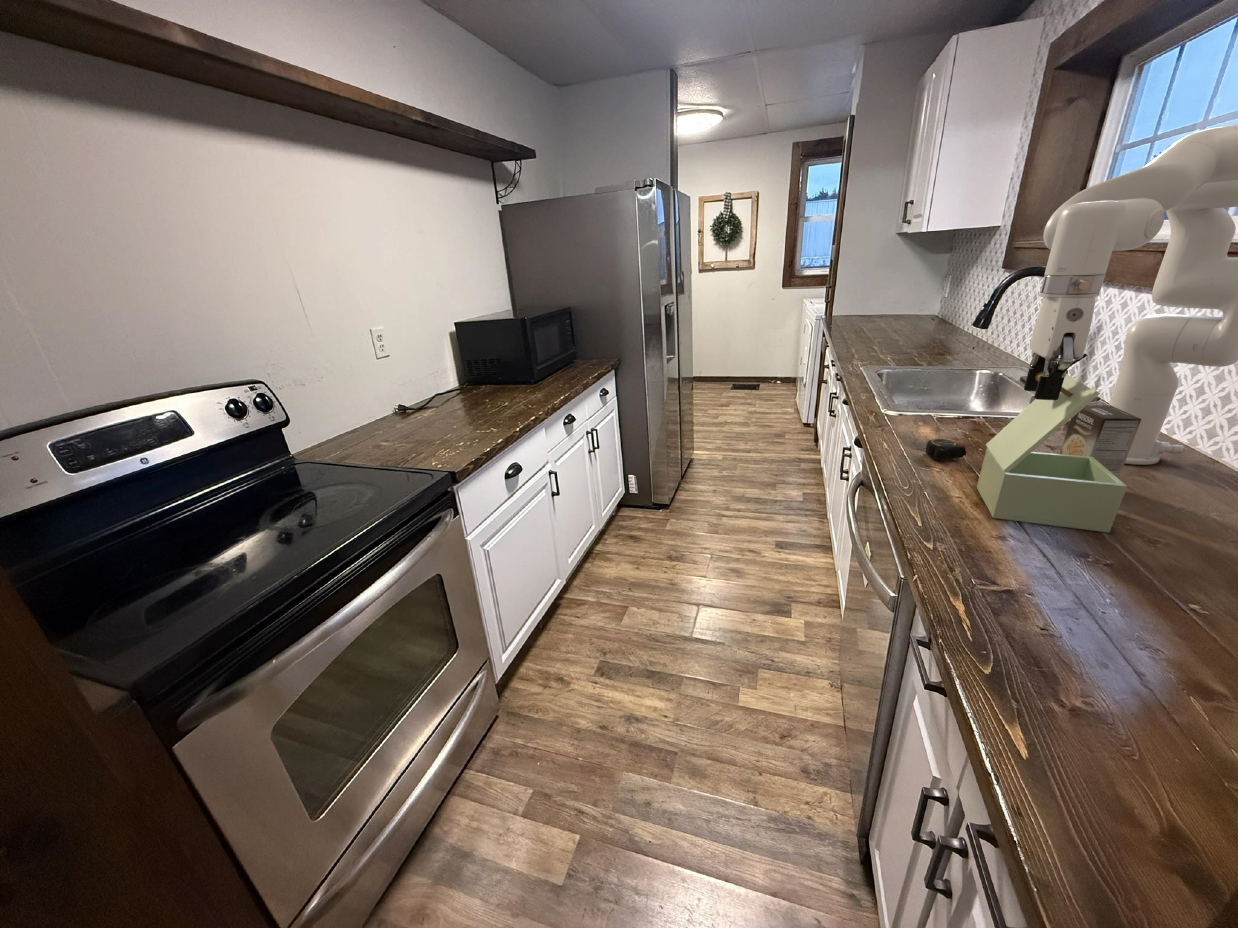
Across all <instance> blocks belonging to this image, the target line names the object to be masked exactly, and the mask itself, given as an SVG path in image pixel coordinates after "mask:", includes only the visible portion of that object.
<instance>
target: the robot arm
mask: <svg viewBox="0 0 1238 928" xmlns="http://www.w3.org/2000/svg"><path fill="white" fill-rule="evenodd" d="M1227 208H1238V123H1236V124H1230V125H1225V126H1217V127H1211V128H1206V129H1201V130H1199V131H1194V132H1192V133H1189V134H1187V135H1185V136H1183V137H1182V138H1180V139H1178V140H1177V141H1175V142H1174V143H1173V144H1171V145H1170V146H1169V147H1167V148H1166V149H1165V150H1164V151H1163V152H1161V153H1160V154H1159V155H1158V156H1156V157H1155V158H1154V159H1152V160H1151V161H1149V162H1148V163H1147V164H1145V165H1144V166H1141V167H1139V168H1136V169H1133V170H1130V171H1128V172H1125V173H1122V174H1120V175H1117V176H1115V177H1112V178H1109V179H1107V180H1104V181H1102V182H1098V183H1096V184H1094V185H1091V186H1088V187H1087V188H1085V189H1083V190H1080V191H1079V192H1077V193H1076V194H1074V195H1073V196H1071V197H1070V198H1069V199H1067V200H1066V201H1065V202H1064V203H1063V204H1061V205H1060V206H1059V207H1058V208H1057V209H1056V210H1055V211H1054V212H1053V213H1052V214H1051V216H1050V218H1049V219H1048V221H1047V223H1046V225H1045V227H1044V230H1043V243H1044V245H1045V246H1046V248H1047V249H1048V250H1050V251H1049V256H1048V260H1047V263H1046V267H1045V271H1044V275H1043V278H1042V282H1041V286H1040V290H1039V293H1038V297H1042V298H1043V299H1042V303H1041V305H1040V307H1039V310H1038V314H1037V317H1036V319H1035V324H1034V326H1033V330H1032V335H1031V338H1030V342H1029V348H1030V350H1031V351H1032V352H1033V353H1032V355H1031V357H1032V358H1031V360H1030V363H1029V368H1028V372H1027V374H1026V378H1025V383H1024V386H1023V390H1024V391H1025V392H1035V393H1034V396H1033V398H1034V400H1035V399H1037V400H1057V399H1058V398H1059V394H1060V391H1061V388H1062V384H1063V381H1064V378H1065V376H1066V374H1068V373H1067V372H1068V370H1069V368H1070V366H1072V364H1073V362H1074V361H1078V360H1080V359H1082V358H1083V357H1084V354H1085V350H1086V347H1087V343H1088V340H1089V335H1090V331H1091V326H1092V322H1093V319H1094V312H1095V307H1096V306H1095V305H1096V298H1097V297H1100V293H1101V290H1102V288H1103V283H1104V281H1105V277H1106V273H1107V270H1108V267H1109V264H1110V261H1111V258H1112V253H1113V252H1121V251H1122V252H1123V251H1130V250H1135V249H1139V248H1141V247H1143V246H1144V245H1146V244H1148V243H1150V242H1151V241H1152V240H1153V239H1154V238H1155V237H1156V236H1157V235H1158V233H1159V232H1160V231H1161V229H1162V228H1163V225H1164V222H1165V217H1166V216H1167V218H1168V223H1169V226H1170V236H1169V240H1168V244H1167V247H1166V250H1165V252H1164V255H1163V258H1162V260H1161V264H1160V266H1159V269H1158V272H1157V275H1156V278H1155V281H1154V284H1153V287H1152V291H1151V300H1152V301H1153V303H1154V304H1155V305H1157V306H1161V307H1166V308H1181V309H1199V310H1200V309H1202V310H1217V311H1220V312H1222V316H1210V315H1195V314H1177V313H1176V314H1175V313H1157V314H1150V315H1146V316H1142V317H1140V318H1138V319H1136V320H1135V321H1134V322H1133V323H1132V324H1131V325H1130V326H1129V327H1128V330H1127V332H1126V334H1125V339H1124V346H1123V355H1122V361H1121V365H1120V369H1119V372H1118V375H1117V379H1116V382H1115V385H1114V388H1113V391H1112V393H1111V397H1110V400H1109V401H1108V405H1111V406H1113V407H1115V408H1118V409H1120V410H1122V411H1124V412H1127V413H1129V414H1131V415H1133V416H1136V417H1138V418H1140V419H1142V420H1141V422H1140V425H1139V427H1138V430H1137V432H1136V435H1135V437H1134V440H1133V442H1132V445H1131V448H1130V450H1129V453H1128V456H1127V458H1126V460H1125V463H1124V465H1125V464H1126V465H1138V466H1140V465H1141V466H1148V465H1155V464H1157V463H1159V462H1160V459H1161V456H1160V455H1159V454H1164V453H1169V454H1177V455H1181V454H1183V453H1184V451H1185V446H1184V445H1183V444H1170V442H1169V441H1160V440H1159V439H1158V438H1159V437H1160V433H1161V430H1162V428H1163V425H1164V423H1165V420H1166V417H1167V415H1168V413H1169V410H1170V407H1171V405H1172V402H1173V400H1174V397H1175V395H1176V392H1177V390H1178V387H1179V377H1178V375H1177V372H1176V370H1175V369H1174V368H1173V366H1172V364H1186V365H1194V366H1204V367H1215V368H1216V367H1217V368H1223V367H1228V366H1232V365H1234V364H1236V363H1237V362H1238V257H1237V256H1236V257H1229V256H1228V252H1229V250H1230V246H1231V244H1232V241H1233V240H1234V236H1235V234H1236V232H1237V231H1236V230H1237V228H1236V224H1235V221H1234V220H1233V218H1232V216H1231V215H1230V213H1229V212H1228V211H1227V210H1226V209H1227ZM1165 215H1166V216H1165ZM1056 356H1059V357H1056ZM1053 363H1054V364H1053ZM1171 363H1172V364H1171ZM1040 372H1043V376H1040V378H1039V381H1036V380H1035V376H1036V375H1037V374H1038V373H1040Z"/></svg>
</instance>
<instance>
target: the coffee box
mask: <svg viewBox="0 0 1238 928" xmlns="http://www.w3.org/2000/svg"><path fill="white" fill-rule="evenodd" d="M1141 420H1142V419H1140V418H1138V417H1136V416H1133V415H1131V414H1129V413H1127V412H1124V411H1122V410H1120V409H1118V408H1115V407H1113V406H1111V405H1109V404H1098V405H1097V404H1096V405H1094V404H1088V405H1087V406H1085V407H1084V408H1083V409H1082V410H1081V411H1079V412H1078V413H1077V414H1076V415H1075V416H1074V417H1072V418H1071V419H1070V420H1069V423H1068V425H1067V428H1066V429H1067V430H1066V432H1065V436H1064V438H1063V442H1062V445H1061V447H1060V451H1059V454H1064V455H1076V456H1088V457H1094V458H1095V459H1096V460H1097V461H1098V462H1099V463H1101V464H1102V465H1103V466H1104V467H1105V468H1106V469H1108V470H1109V471H1110V472H1111V473H1112V474H1113V475H1115V476H1116V477H1117V478H1118V479H1119V480H1120V476H1121V473H1122V471H1123V468H1124V465H1125V460H1126V458H1127V456H1128V453H1129V450H1130V448H1131V445H1132V442H1133V440H1134V437H1135V435H1136V432H1137V430H1138V427H1139V425H1140V422H1141Z"/></svg>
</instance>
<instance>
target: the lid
mask: <svg viewBox="0 0 1238 928" xmlns="http://www.w3.org/2000/svg"><path fill="white" fill-rule="evenodd" d="M1040 376H1043V372H1040V373H1038V374H1037V375H1036V376H1035V380H1036V381H1039V378H1040ZM1100 395H1101V392H1099V391H1097V390H1096V389H1094V388H1092V387H1090V386H1088V385H1087V384H1085V383H1084V382H1082V381H1080V380H1078V379H1076V378H1074V377H1073V376H1071V375H1070V374H1068V373H1066V376H1065V378H1064V381H1063V384H1062V388H1061V391H1060V394H1059V398H1058V399H1057V400H1037V399H1035V398H1034V400H1033V401H1032V402H1030V404H1028V406H1026V407H1025V408H1024V409H1023V410H1022V411H1021V412H1020V413H1018V414H1017V415H1016V417H1014V418H1013V419H1012V420H1011V421H1010V422H1009V423H1008V424H1007V425H1006V426H1004V427H1003V428H1001V430H1000V431H999V432H998V433H997V434H995V435H994V436H993V437H992V438H991V439H990V440H989V441H988V442H987V443H986V444H985V446H986V448H988V449H989V450H990V452H991V453H992V455H993V456H994V457H995V459H996V460H997V462H998V463H999V465H1000V466H1001V467H1002V469H1003V470H1004V471H1005V472H1007V473H1008V472H1009V471H1010V470H1012V469H1013V468H1014V467H1015V466H1016V465H1017V464H1019V463H1020V462H1021V461H1022V460H1023V459H1024V458H1026V457H1027V456H1028V455H1029V454H1030V453H1031V452H1035V450H1036V449H1038V448H1039V447H1040V446H1041V445H1042V444H1043V443H1045V441H1047V440H1048V439H1049V438H1051V436H1052V435H1054V434H1055V433H1056V432H1057V431H1058V430H1060V429H1061V428H1062V427H1063V426H1064V425H1066V424H1067V423H1068V422H1070V420H1071V418H1072V417H1074V416H1075V415H1076V414H1077V413H1078V412H1079V411H1081V410H1082V409H1083V408H1084V407H1085V406H1087V405H1090V403H1091V402H1093V401H1094V400H1095V399H1096V398H1098V396H1100Z"/></svg>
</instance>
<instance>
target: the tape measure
mask: <svg viewBox="0 0 1238 928" xmlns="http://www.w3.org/2000/svg"><path fill="white" fill-rule="evenodd" d="M967 453H968V451H967V450H966V447H965V446H964V445H961V444H958V443H957V442H956V441H953V440H950V439H946V438H932V439H930V440H928V441H927V442H926V446H925V454H926V455H927V456H928V457H931V458H933V459H936V460H943V461H946V460H952V459H960V458H963V457H965V456H967Z"/></svg>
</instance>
